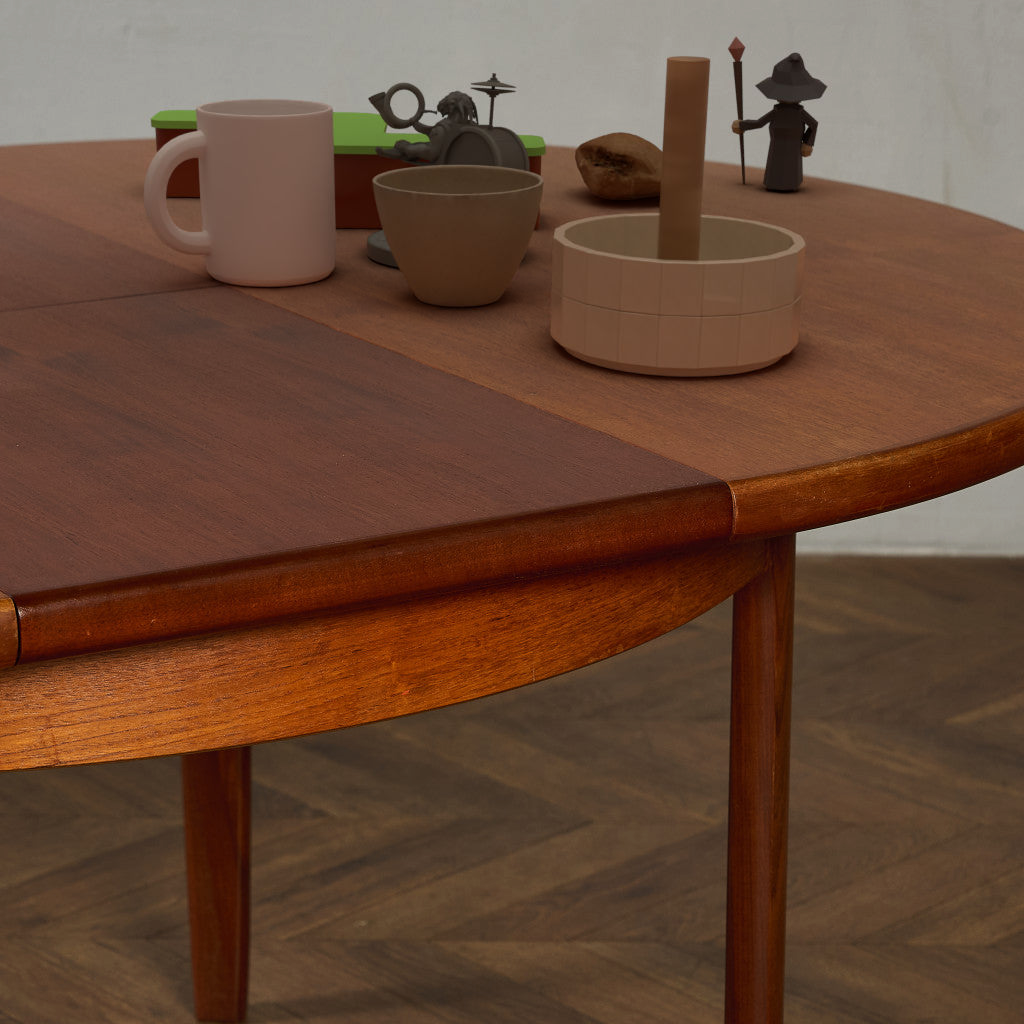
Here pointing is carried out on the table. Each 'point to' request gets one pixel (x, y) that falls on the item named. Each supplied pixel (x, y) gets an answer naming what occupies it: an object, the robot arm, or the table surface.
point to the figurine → (448, 141)
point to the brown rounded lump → (620, 166)
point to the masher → (683, 157)
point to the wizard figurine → (781, 118)
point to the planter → (351, 161)
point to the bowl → (676, 296)
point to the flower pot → (458, 228)
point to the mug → (255, 191)
